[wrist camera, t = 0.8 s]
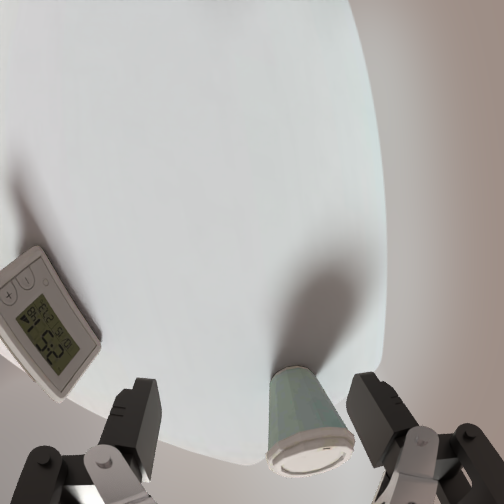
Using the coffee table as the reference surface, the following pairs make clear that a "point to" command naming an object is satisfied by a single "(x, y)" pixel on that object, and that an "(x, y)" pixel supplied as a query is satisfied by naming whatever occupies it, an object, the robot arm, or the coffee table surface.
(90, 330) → the digital clock
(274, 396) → the disposable coffee cup
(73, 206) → the coffee table surface
